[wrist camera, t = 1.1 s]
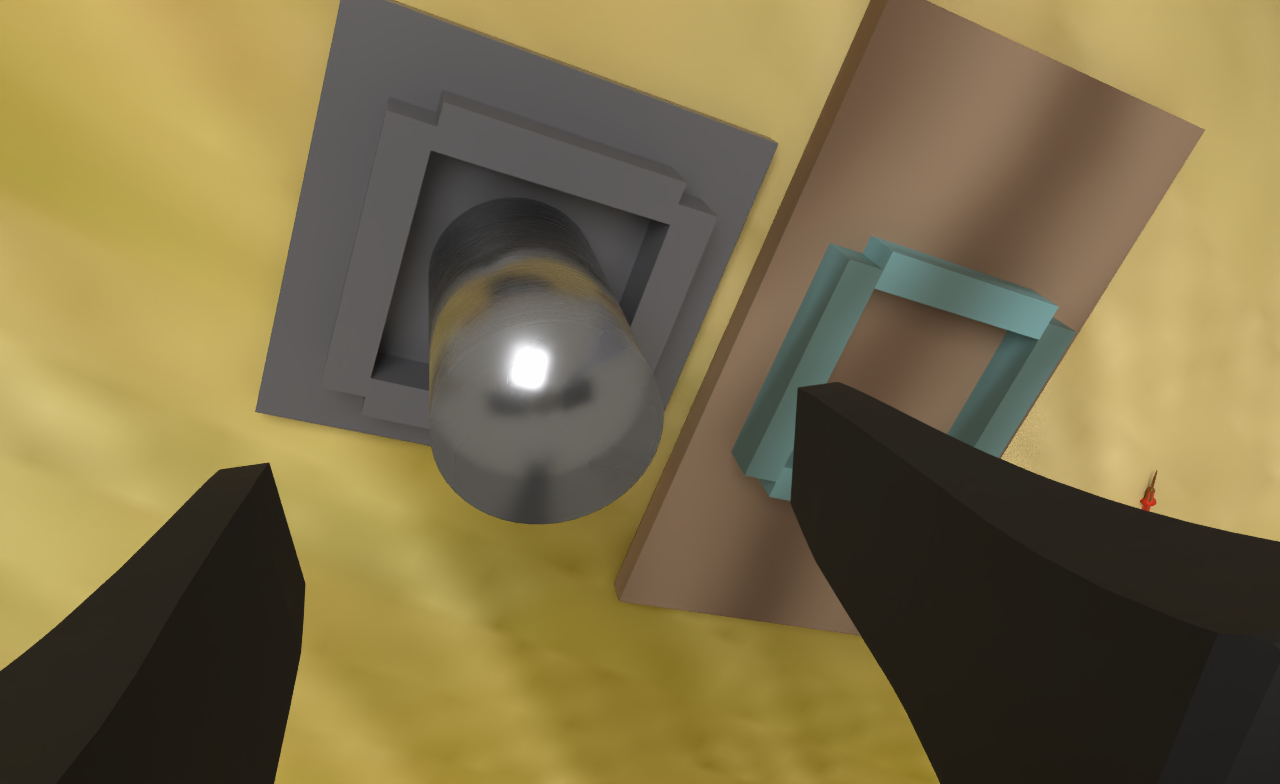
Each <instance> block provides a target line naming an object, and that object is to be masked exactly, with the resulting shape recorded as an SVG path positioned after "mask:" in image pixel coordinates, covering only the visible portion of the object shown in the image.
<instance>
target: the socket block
mask: <svg viewBox="0 0 1280 784" xmlns="http://www.w3.org/2000/svg"><path fill="white" fill-rule="evenodd" d="M777 146H778V143H777V142H775V141H774V140H772V139H771V138H769V137H766V136H763V135H760V134H758V133H755V132H752V131H750V130H747V129H744V128H741V127H739V126H736V125H733V124H730V123H728V122H725V121H722V120H720V119H717V118H714V117H711V116H709V115H706V114H703V113H700V112H698V111H695V110H692V109H689V108H687V107H684V106H681V105H679V104H676V103H673V102H670V101H668V100H665V99H662V98H659V97H657V96H654V95H651V94H649V93H646V92H643V91H640V90H638V89H635V88H632V87H629V86H627V85H624V84H621V83H618V82H616V81H613V80H610V79H608V78H605V77H602V76H599V75H597V74H594V73H591V72H588V71H586V70H583V69H580V68H578V67H575V66H572V65H569V64H567V63H564V62H561V61H558V60H556V59H553V58H550V57H547V56H545V55H542V54H539V53H537V52H534V51H531V50H528V49H526V48H523V47H520V46H517V45H515V44H512V43H509V42H507V41H504V40H501V39H498V38H496V37H493V36H490V35H487V34H485V33H482V32H479V31H477V30H474V29H471V28H468V27H466V26H463V25H460V24H457V23H455V22H452V21H449V20H446V19H444V18H441V17H438V16H436V15H433V14H430V13H427V12H425V11H422V10H419V9H416V8H414V7H411V6H408V5H406V4H403V3H400V2H397V1H395V0H340V5H339V10H338V15H337V20H336V24H335V29H334V34H333V39H332V44H331V49H330V53H329V58H328V63H327V68H326V73H325V78H324V82H323V87H322V92H321V97H320V102H319V107H318V111H317V116H316V121H315V126H314V131H313V135H312V140H311V145H310V150H309V155H308V160H307V164H306V169H305V174H304V179H303V184H302V189H301V193H300V198H299V203H298V208H297V213H296V218H295V222H294V227H293V232H292V237H291V242H290V246H289V251H288V256H287V261H286V266H285V271H284V275H283V280H282V285H281V290H280V295H279V300H278V304H277V309H276V314H275V319H274V324H273V329H272V333H271V338H270V343H269V348H268V353H267V357H266V362H265V367H264V372H263V377H262V382H261V386H260V391H259V396H258V401H257V406H256V411H255V412H258V413H263V414H268V415H273V416H279V417H284V418H289V419H294V420H299V421H305V422H310V423H315V424H320V425H325V426H331V427H336V428H341V429H346V430H351V431H356V432H362V433H367V434H372V435H377V436H382V437H388V438H393V439H398V440H403V441H408V442H414V443H419V444H424V445H429V446H431V439H430V396H429V307H428V272H429V264H430V259H431V255H432V252H433V250H434V247H435V245H436V243H437V241H438V239H439V237H440V236H441V235H442V233H443V232H444V230H445V229H446V228H447V227H448V226H449V225H450V224H451V223H452V221H453V220H455V219H456V218H457V217H458V216H460V215H461V214H462V213H464V212H465V211H467V210H469V209H470V208H472V207H474V206H476V205H479V204H481V203H483V202H487V201H490V200H494V199H500V198H513V197H518V198H528V199H532V200H536V201H540V202H543V203H545V204H548V205H550V206H552V207H554V208H556V209H558V210H560V211H561V212H563V213H564V214H565V215H567V216H568V217H569V218H570V219H571V220H572V221H573V222H575V223H576V224H577V226H578V227H579V228H580V229H581V231H582V232H583V233H584V235H585V237H586V238H587V240H588V242H589V244H590V246H591V248H592V250H593V252H594V254H595V256H596V258H597V260H598V262H599V265H600V267H601V269H602V271H603V273H604V275H605V277H606V279H607V281H608V283H609V285H610V287H611V289H612V291H613V293H614V295H615V297H616V299H617V302H618V304H619V306H620V308H621V310H622V312H623V314H624V316H625V318H626V320H627V322H628V324H629V326H630V328H631V330H632V332H633V334H634V336H635V339H636V341H637V343H638V345H639V347H640V349H641V351H642V353H643V355H644V357H645V359H646V361H647V363H648V365H649V367H650V369H651V371H652V373H653V376H654V378H655V380H656V382H657V385H658V387H659V390H660V394H661V398H662V402H663V413H664V411H665V408H666V406H667V404H668V401H669V399H670V397H671V394H672V392H673V390H674V387H675V385H676V383H677V380H678V378H679V376H680V373H681V371H682V369H683V366H684V364H685V362H686V359H687V357H688V355H689V352H690V350H691V347H692V345H693V343H694V340H695V338H696V336H697V333H698V331H699V329H700V326H701V324H702V322H703V319H704V317H705V315H706V312H707V310H708V308H709V305H710V303H711V301H712V298H713V296H714V294H715V291H716V289H717V287H718V284H719V282H720V280H721V277H722V275H723V272H724V270H725V268H726V265H727V263H728V261H729V258H730V256H731V254H732V251H733V249H734V247H735V244H736V242H737V240H738V237H739V235H740V233H741V230H742V228H743V226H744V223H745V221H746V219H747V216H748V214H749V212H750V209H751V207H752V205H753V202H754V200H755V197H756V195H757V193H758V190H759V188H760V186H761V183H762V181H763V179H764V176H765V174H766V172H767V169H768V167H769V165H770V162H771V160H772V158H773V155H774V153H775V151H776V148H777Z"/></svg>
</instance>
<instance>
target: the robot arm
mask: <svg viewBox="0 0 1280 784" xmlns="http://www.w3.org/2000/svg"><path fill="white" fill-rule="evenodd" d="M790 504H791V506H792V509H793V511H794V513H795V516H796V518H797V521H798V523H799V525H800V528H801V530H802V533H803V535H804V537H805V540H806V542H807V544H808V546H809V548H810V551H811V553H812V555H813V557H814V559H815V561H816V563H817V565H818V566H819V568H820V570H821V572H822V573H823V575H824V577H825V578H826V580H827V581H828V583H829V585H830V586H831V588H832V590H833V591H834V593H835V595H836V596H837V598H838V600H839V601H840V603H841V605H842V606H843V608H844V609H845V611H846V613H847V614H848V616H849V617H850V619H851V621H852V622H853V624H854V625H855V627H856V629H857V630H858V632H859V633H860V635H861V637H862V638H863V640H864V642H865V643H866V645H867V646H868V648H869V650H870V651H871V653H872V654H873V656H874V658H875V659H876V661H877V663H878V664H879V666H880V667H881V669H882V671H883V672H884V674H885V675H886V677H887V679H888V680H889V682H890V684H891V685H892V687H893V689H894V691H895V693H896V694H897V696H898V698H899V700H900V701H901V703H902V705H903V707H904V709H905V710H906V712H907V714H908V717H909V719H910V721H911V723H912V725H913V727H914V729H915V731H916V733H917V735H918V737H919V740H920V742H921V744H922V746H923V748H924V750H925V752H926V754H927V756H928V758H929V760H930V762H931V765H932V767H933V769H934V771H935V773H936V775H937V777H938V780H939V782H940V784H1280V542H1278V541H1273V540H1268V539H1263V538H1258V537H1253V536H1248V535H1243V534H1238V533H1233V532H1228V531H1224V530H1220V529H1215V528H1211V527H1207V526H1203V525H1198V524H1194V523H1190V522H1186V521H1182V520H1179V519H1175V518H1171V517H1168V516H1164V515H1160V514H1157V513H1153V512H1149V511H1146V510H1142V509H1138V508H1135V507H1131V506H1128V505H1125V504H1121V503H1118V502H1115V501H1112V500H1108V499H1105V498H1102V497H1099V496H1096V495H1094V494H1091V493H1088V492H1085V491H1082V490H1079V489H1076V488H1073V487H1071V486H1068V485H1065V484H1062V483H1059V482H1056V481H1053V480H1051V479H1048V478H1046V477H1043V476H1041V475H1038V474H1035V473H1033V472H1030V471H1028V470H1025V469H1023V468H1021V467H1018V466H1016V465H1014V464H1011V463H1009V462H1007V461H1004V460H1002V459H1000V458H997V457H995V456H993V455H990V454H988V453H986V452H984V451H981V450H979V449H977V448H975V447H973V446H971V445H969V444H966V443H964V442H962V441H960V440H958V439H956V438H954V437H952V436H950V435H947V434H945V433H943V432H941V431H939V430H937V429H935V428H933V427H931V426H929V425H927V424H925V423H923V422H921V421H919V420H917V419H915V418H913V417H911V416H909V415H907V414H905V413H903V412H901V411H899V410H898V409H896V408H894V407H892V406H890V405H888V404H886V403H884V402H882V401H880V400H878V399H876V398H874V397H872V396H869V395H867V394H865V393H863V392H861V391H859V390H857V389H855V388H852V387H850V386H848V385H845V384H843V383H840V382H832V383H825V384H818V385H811V386H804V387H798V390H797V406H796V421H795V437H794V453H793V469H792V485H791V500H790ZM304 600H305V581H304V578H303V574H302V571H301V567H300V564H299V561H298V557H297V554H296V551H295V547H294V544H293V541H292V537H291V534H290V531H289V527H288V524H287V521H286V517H285V514H284V511H283V507H282V504H281V500H280V497H279V494H278V490H277V487H276V484H275V480H274V477H273V474H272V470H271V467H270V464H269V463H263V464H256V465H249V466H242V467H235V468H228V469H221V470H219V471H217V472H216V473H215V474H214V475H213V476H212V477H211V478H210V479H209V480H208V481H207V482H206V483H205V484H204V485H203V486H202V487H201V488H200V489H199V490H198V491H197V492H196V493H195V494H194V495H193V496H192V497H191V498H190V499H189V500H188V501H187V502H186V503H185V504H184V505H183V506H182V507H181V508H180V509H179V510H178V511H177V512H176V513H175V514H174V515H173V516H172V517H171V518H170V519H169V520H168V521H167V522H166V523H165V524H164V525H163V526H162V527H161V528H160V529H159V530H158V531H157V532H156V533H155V534H154V535H153V536H152V537H151V538H150V539H149V540H148V541H147V542H146V543H145V544H144V545H143V546H142V547H141V548H140V549H139V550H138V551H137V552H136V553H135V554H134V555H133V556H132V557H131V558H130V559H129V560H128V561H127V562H126V563H125V564H124V565H123V566H122V567H121V568H120V569H119V570H118V571H117V572H116V573H115V574H113V575H112V576H111V577H110V578H109V579H108V580H107V581H106V582H105V583H104V584H102V585H101V586H100V587H99V588H98V589H97V590H96V591H95V592H94V593H93V594H91V595H90V596H89V597H88V598H87V599H86V600H85V601H84V602H83V603H82V604H80V605H79V606H78V607H77V608H76V609H75V610H74V611H73V612H72V613H71V614H69V615H68V616H67V617H66V618H65V619H64V620H63V621H62V622H61V623H59V624H58V625H57V626H56V627H55V628H54V629H52V630H51V631H50V632H49V633H48V634H47V635H45V636H44V637H43V638H42V639H41V640H39V641H38V642H37V643H36V644H34V645H33V646H32V647H31V648H29V649H28V650H27V651H26V652H25V653H23V654H22V655H21V656H20V657H18V658H17V659H16V660H14V661H13V662H12V663H10V664H9V665H8V666H7V667H5V668H4V669H3V670H1V671H0V784H274V781H275V776H276V772H277V767H278V762H279V757H280V753H281V748H282V743H283V738H284V734H285V729H286V724H287V719H288V715H289V710H290V705H291V700H292V695H293V690H294V685H295V680H296V675H297V670H298V665H299V660H300V655H301V646H302V633H303V619H304Z"/></svg>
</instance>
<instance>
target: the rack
mask: <svg viewBox="0 0 1280 784" xmlns="http://www.w3.org/2000/svg"><path fill="white" fill-rule="evenodd" d="M1204 131H1205V130H1204V129H1202V128H1200V127H1198V126H1196V125H1194V124H1191V123H1189V122H1187V121H1185V120H1183V119H1181V118H1179V117H1176V116H1174V115H1172V114H1170V113H1168V112H1166V111H1163V110H1161V109H1159V108H1157V107H1155V106H1153V105H1150V104H1148V103H1146V102H1144V101H1142V100H1140V99H1138V98H1135V97H1133V96H1131V95H1129V94H1127V93H1125V92H1122V91H1120V90H1118V89H1116V88H1114V87H1112V86H1110V85H1107V84H1105V83H1103V82H1101V81H1099V80H1097V79H1094V78H1092V77H1090V76H1088V75H1086V74H1084V73H1081V72H1079V71H1077V70H1075V69H1073V68H1071V67H1069V66H1066V65H1064V64H1062V63H1060V62H1058V61H1056V60H1053V59H1051V58H1049V57H1047V56H1045V55H1043V54H1041V53H1038V52H1036V51H1034V50H1032V49H1030V48H1028V47H1025V46H1023V45H1021V44H1019V43H1017V42H1015V41H1013V40H1010V39H1008V38H1006V37H1004V36H1002V35H1000V34H997V33H995V32H993V31H991V30H989V29H987V28H984V27H982V26H980V25H978V24H976V23H974V22H972V21H969V20H967V19H965V18H963V17H961V16H959V15H956V14H954V13H952V12H950V11H948V10H946V9H944V8H941V7H939V6H937V5H935V4H933V3H931V2H928V1H926V0H871V1H870V4H869V6H868V8H867V10H866V13H865V15H864V17H863V19H862V22H861V24H860V26H859V28H858V31H857V33H856V35H855V38H854V40H853V42H852V44H851V47H850V49H849V51H848V53H847V56H846V58H845V60H844V63H843V65H842V67H841V69H840V72H839V74H838V76H837V78H836V81H835V83H834V85H833V88H832V90H831V92H830V94H829V97H828V99H827V101H826V103H825V106H824V108H823V110H822V113H821V115H820V117H819V119H818V122H817V124H816V126H815V128H814V131H813V133H812V135H811V137H810V140H809V142H808V144H807V147H806V149H805V151H804V153H803V156H802V158H801V160H800V162H799V165H798V167H797V169H796V172H795V174H794V176H793V178H792V181H791V183H790V185H789V187H788V190H787V192H786V194H785V197H784V199H783V201H782V203H781V206H780V208H779V210H778V212H777V215H776V217H775V219H774V222H773V224H772V226H771V228H770V231H769V233H768V235H767V237H766V240H765V242H764V244H763V246H762V249H761V251H760V253H759V256H758V258H757V260H756V262H755V265H754V267H753V269H752V271H751V274H750V276H749V278H748V281H747V283H746V285H745V287H744V290H743V292H742V294H741V296H740V299H739V301H738V303H737V306H736V308H735V310H734V312H733V315H732V317H731V319H730V321H729V324H728V326H727V328H726V330H725V333H724V335H723V337H722V340H721V342H720V344H719V346H718V349H717V351H716V353H715V355H714V358H713V360H712V362H711V365H710V367H709V369H708V371H707V374H706V376H705V378H704V380H703V383H702V385H701V387H700V390H699V392H698V394H697V396H696V399H695V401H694V403H693V405H692V408H691V410H690V412H689V415H688V417H687V419H686V421H685V424H684V426H683V428H682V430H681V433H680V435H679V437H678V439H677V442H676V444H675V446H674V449H673V451H672V453H671V455H670V458H669V460H668V462H667V464H666V467H665V469H664V471H663V474H662V476H661V478H660V480H659V483H658V485H657V487H656V489H655V492H654V494H653V496H652V499H651V501H650V503H649V505H648V508H647V510H646V512H645V514H644V517H643V519H642V521H641V523H640V526H639V528H638V530H637V533H636V535H635V537H634V539H633V542H632V544H631V546H630V548H629V551H628V553H627V555H626V558H625V560H624V562H623V564H622V567H621V569H620V571H619V573H618V576H617V578H616V580H615V583H614V586H615V589H616V593H617V596H618V600H619V601H620V602H627V603H634V604H641V605H648V606H655V607H662V608H670V609H677V610H684V611H691V612H698V613H705V614H712V615H719V616H726V617H733V618H741V619H748V620H755V621H762V622H769V623H776V624H783V625H790V626H797V627H804V628H811V629H819V630H826V631H833V632H840V633H847V634H854V635H860V633H859V632H858V630H857V629H856V627H855V625H854V624H853V622H852V621H851V619H850V617H849V616H848V614H847V613H846V611H845V609H844V608H843V606H842V605H841V603H840V601H839V600H838V598H837V596H836V595H835V593H834V591H833V590H832V588H831V586H830V585H829V583H828V581H827V580H826V578H825V577H824V575H823V573H822V572H821V570H820V568H819V566H818V565H817V563H816V561H815V559H814V557H813V555H812V553H811V551H810V548H809V546H808V544H807V542H806V540H805V537H804V535H803V533H802V530H801V528H800V525H799V523H798V521H797V518H796V516H795V513H794V511H793V509H792V506H791V504H790V500H791V485H792V469H793V453H794V437H795V421H796V406H797V390H798V387H804V386H811V385H818V384H825V383H832V382H840V383H843V384H845V385H848V386H850V387H852V388H855V389H857V390H859V391H861V392H863V393H865V394H867V395H869V396H872V397H874V398H876V399H878V400H880V401H882V402H884V403H886V404H888V405H890V406H892V407H894V408H896V409H898V410H899V411H901V412H903V413H905V414H907V415H909V416H911V417H913V418H915V419H917V420H919V421H921V422H923V423H925V424H927V425H929V426H931V427H933V428H935V429H937V430H939V431H941V432H943V433H945V434H947V435H950V436H952V437H954V438H956V439H958V440H960V441H962V442H964V443H966V444H969V445H971V446H973V447H975V448H977V449H979V450H981V451H984V452H986V453H988V454H990V455H993V456H995V457H997V458H1001V457H1002V455H1003V454H1004V452H1005V450H1006V449H1007V447H1008V446H1009V444H1010V442H1011V441H1012V439H1013V438H1014V436H1015V434H1016V433H1017V431H1018V429H1019V428H1020V426H1021V425H1022V423H1023V421H1024V420H1025V418H1026V417H1027V415H1028V413H1029V412H1030V410H1031V409H1032V407H1033V405H1034V404H1035V402H1036V401H1037V399H1038V397H1039V396H1040V394H1041V393H1042V391H1043V389H1044V388H1045V386H1046V385H1047V383H1048V381H1049V380H1050V378H1051V376H1052V375H1053V373H1054V372H1055V370H1056V368H1057V367H1058V365H1059V364H1060V362H1061V360H1062V359H1063V357H1064V356H1065V354H1066V352H1067V351H1068V349H1069V348H1070V346H1071V344H1072V343H1073V341H1074V340H1075V338H1076V336H1077V335H1078V333H1079V332H1080V330H1081V328H1082V327H1083V325H1084V324H1085V322H1086V320H1087V319H1088V317H1089V315H1090V314H1091V312H1092V311H1093V309H1094V307H1095V306H1096V304H1097V303H1098V301H1099V299H1100V298H1101V296H1102V295H1103V293H1104V291H1105V290H1106V288H1107V287H1108V285H1109V283H1110V282H1111V280H1112V279H1113V277H1114V275H1115V274H1116V272H1117V271H1118V269H1119V267H1120V266H1121V264H1122V262H1123V261H1124V259H1125V258H1126V256H1127V254H1128V253H1129V251H1130V250H1131V248H1132V246H1133V245H1134V243H1135V242H1136V240H1137V238H1138V237H1139V235H1140V234H1141V232H1142V230H1143V229H1144V227H1145V226H1146V224H1147V222H1148V221H1149V219H1150V218H1151V216H1152V214H1153V213H1154V211H1155V210H1156V208H1157V206H1158V205H1159V203H1160V201H1161V200H1162V198H1163V197H1164V195H1165V193H1166V192H1167V190H1168V189H1169V187H1170V185H1171V184H1172V182H1173V181H1174V179H1175V177H1176V176H1177V174H1178V173H1179V171H1180V169H1181V168H1182V166H1183V165H1184V163H1185V161H1186V160H1187V158H1188V157H1189V155H1190V153H1191V152H1192V150H1193V148H1194V147H1195V145H1196V144H1197V142H1198V140H1199V139H1200V137H1201V136H1202V134H1203V132H1204Z"/></svg>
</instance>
